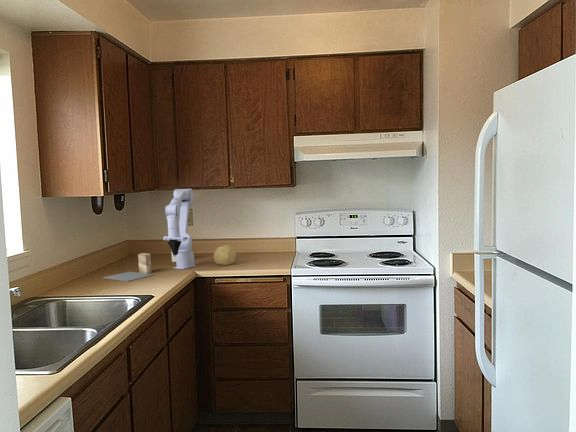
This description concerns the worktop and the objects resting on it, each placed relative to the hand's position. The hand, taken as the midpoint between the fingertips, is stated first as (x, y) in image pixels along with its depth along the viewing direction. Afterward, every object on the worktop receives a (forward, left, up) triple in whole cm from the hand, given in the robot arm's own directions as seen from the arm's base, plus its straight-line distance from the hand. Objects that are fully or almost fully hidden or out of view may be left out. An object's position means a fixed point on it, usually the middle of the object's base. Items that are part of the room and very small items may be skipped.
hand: (175, 254), depth 255 cm
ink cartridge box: (-27, -28, -10) cm, 40 cm away
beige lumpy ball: (-29, +7, -10) cm, 31 cm away
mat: (+17, -16, -9) cm, 25 cm away
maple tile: (+7, -16, -9) cm, 20 cm away
